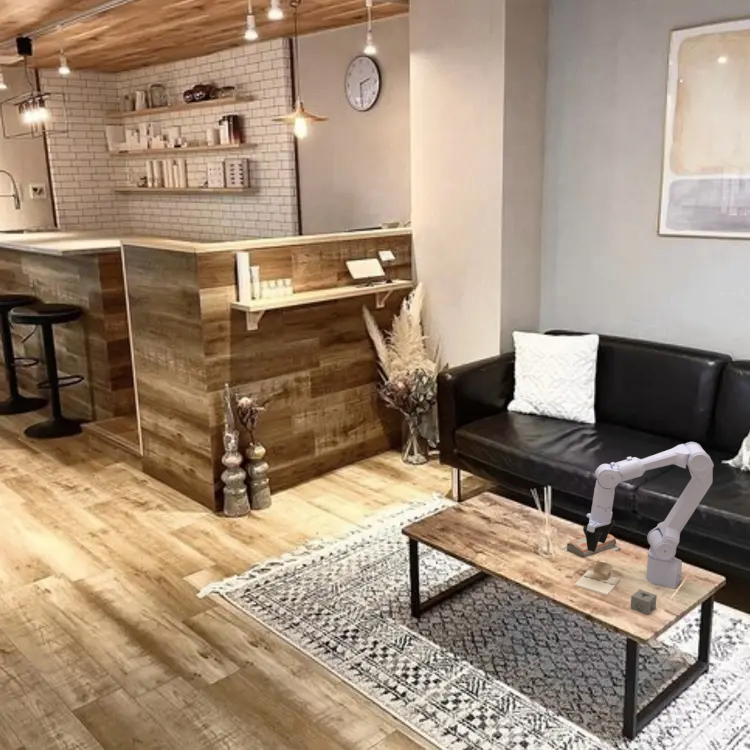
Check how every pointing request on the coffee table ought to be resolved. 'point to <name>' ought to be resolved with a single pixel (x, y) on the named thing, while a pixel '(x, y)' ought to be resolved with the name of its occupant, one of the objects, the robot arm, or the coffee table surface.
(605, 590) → the board
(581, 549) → the packaged product
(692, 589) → the coffee table surface
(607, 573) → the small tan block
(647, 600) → the dice cube
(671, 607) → the coffee table surface
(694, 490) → the robot arm
